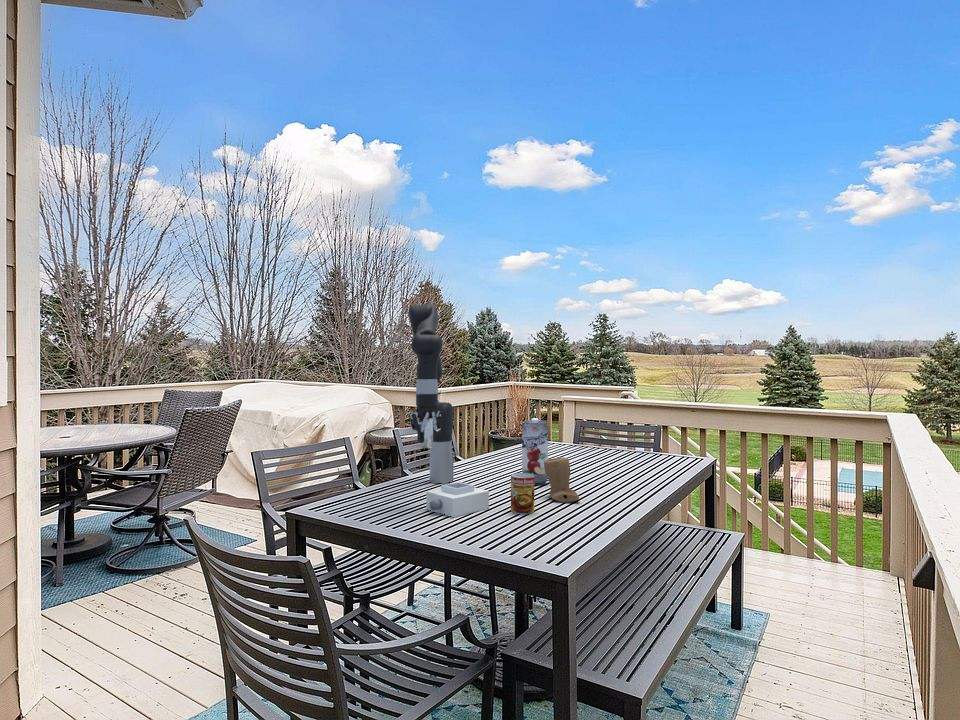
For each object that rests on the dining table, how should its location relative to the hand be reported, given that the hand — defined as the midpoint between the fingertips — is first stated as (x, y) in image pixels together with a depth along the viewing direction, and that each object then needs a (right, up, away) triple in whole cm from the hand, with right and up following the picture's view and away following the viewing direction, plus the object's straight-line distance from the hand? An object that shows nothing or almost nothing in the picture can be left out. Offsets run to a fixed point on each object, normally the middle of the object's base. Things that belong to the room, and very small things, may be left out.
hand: (426, 441), depth 194 cm
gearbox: (+10, -22, -4) cm, 25 cm away
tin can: (0, -2, 0) cm, 2 cm away
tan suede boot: (+48, -23, +12) cm, 54 cm away
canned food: (+33, -23, -5) cm, 40 cm away
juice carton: (+41, -23, +38) cm, 61 cm away
